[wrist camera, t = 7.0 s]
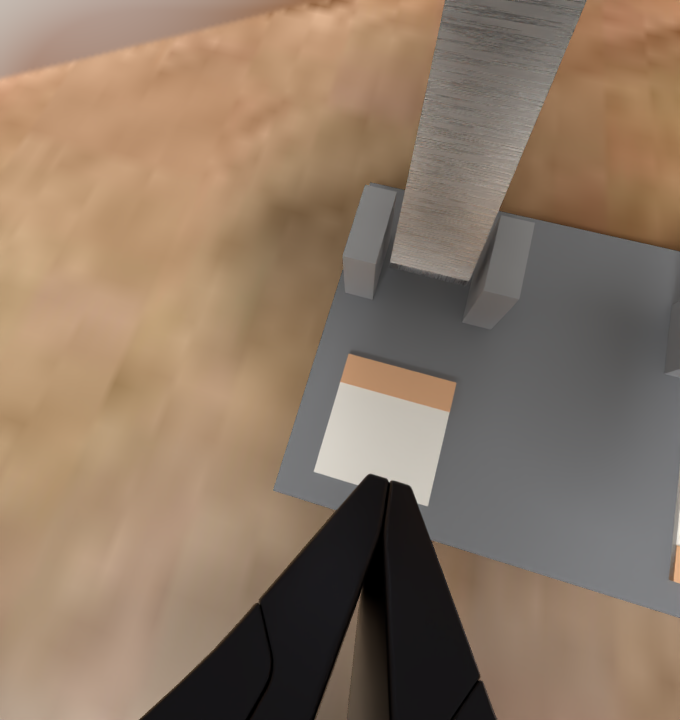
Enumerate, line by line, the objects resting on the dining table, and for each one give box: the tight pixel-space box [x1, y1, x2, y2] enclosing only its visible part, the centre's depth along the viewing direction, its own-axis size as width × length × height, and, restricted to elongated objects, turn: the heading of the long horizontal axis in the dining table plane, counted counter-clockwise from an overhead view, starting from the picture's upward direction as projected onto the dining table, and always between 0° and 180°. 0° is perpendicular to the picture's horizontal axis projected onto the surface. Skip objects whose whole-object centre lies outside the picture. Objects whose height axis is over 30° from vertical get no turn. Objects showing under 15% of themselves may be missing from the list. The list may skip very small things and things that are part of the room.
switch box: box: [273, 182, 680, 618], centre depth 16 cm, size 14×20×4 cm
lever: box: [389, 0, 586, 286], centre depth 13 cm, size 2×3×11 cm, turn 74°
